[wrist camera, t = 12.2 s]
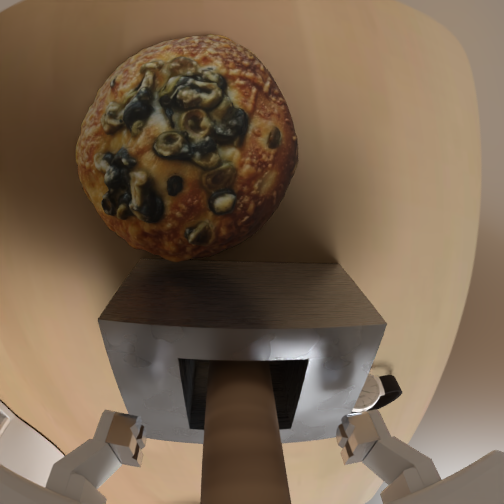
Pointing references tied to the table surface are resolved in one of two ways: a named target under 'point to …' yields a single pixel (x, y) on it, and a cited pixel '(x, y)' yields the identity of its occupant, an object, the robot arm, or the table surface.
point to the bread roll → (187, 148)
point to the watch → (377, 393)
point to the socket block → (240, 341)
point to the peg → (242, 437)
